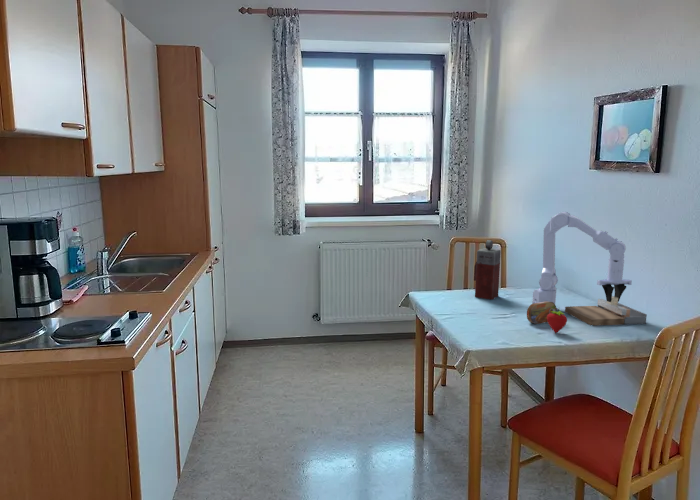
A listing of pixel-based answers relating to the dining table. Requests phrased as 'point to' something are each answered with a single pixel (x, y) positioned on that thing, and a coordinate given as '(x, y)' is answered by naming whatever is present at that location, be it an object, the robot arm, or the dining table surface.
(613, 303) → the grey bar with block
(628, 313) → the tile
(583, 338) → the dining table surface
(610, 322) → the board
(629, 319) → the box
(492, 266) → the brown rectangular bottle
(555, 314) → the strawberry
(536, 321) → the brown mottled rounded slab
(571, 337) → the dining table surface
